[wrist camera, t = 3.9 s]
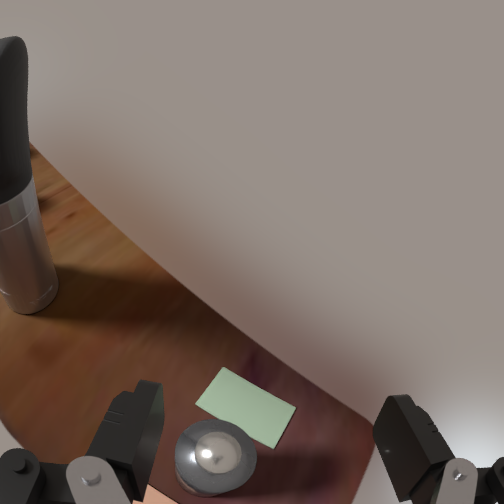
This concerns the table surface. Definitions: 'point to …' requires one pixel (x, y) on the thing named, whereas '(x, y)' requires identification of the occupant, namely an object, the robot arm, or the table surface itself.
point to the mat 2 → (246, 407)
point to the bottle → (213, 458)
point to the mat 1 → (154, 497)
